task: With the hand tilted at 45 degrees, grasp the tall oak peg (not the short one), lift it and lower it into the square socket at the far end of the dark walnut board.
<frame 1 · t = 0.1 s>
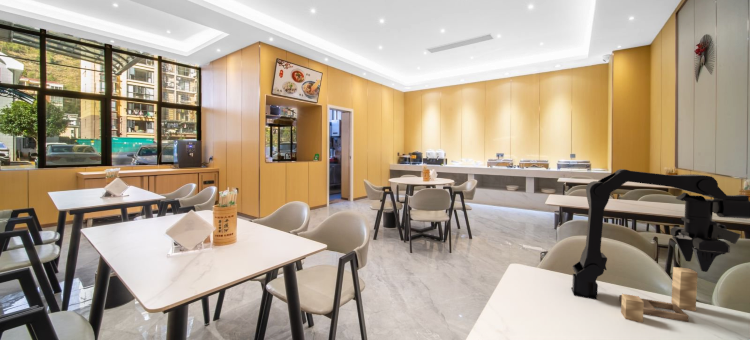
hand: (695, 266, 91), 14 cm above the table, tool pointing down, fingers open, 9 cm apart
long peg: (683, 306, 95), on the table
socket board: (663, 312, 91), on the table
short peg: (631, 317, 89), on the table
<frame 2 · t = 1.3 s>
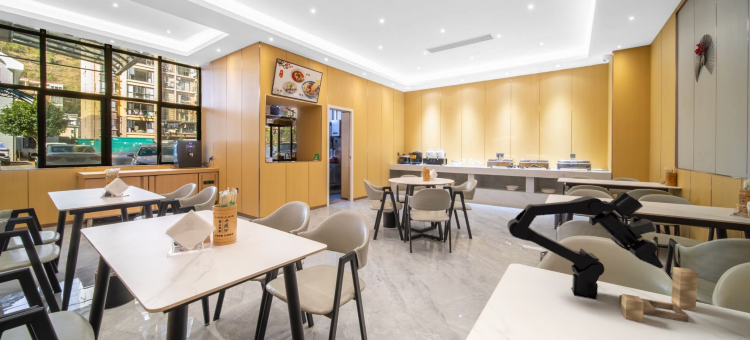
hand: (653, 262, 97), 13 cm above the table, tool tilted 45°, fingers open, 9 cm apart
nothing on the table moved.
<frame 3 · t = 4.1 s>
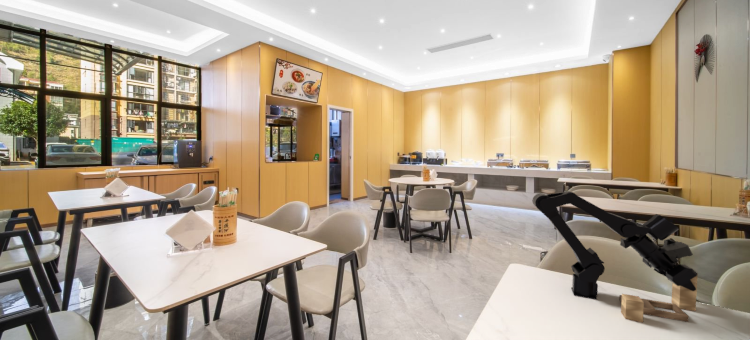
hand: (689, 287, 94), 7 cm above the table, tool tilted 45°, fingers closed on long peg, 4 cm apart
long peg: (683, 306, 95), on the table, touching gripper
everything else where it was.
when the fingers open (7 cm above the table, at t = 7.8 s): long peg stays where it is, resting in socket board.
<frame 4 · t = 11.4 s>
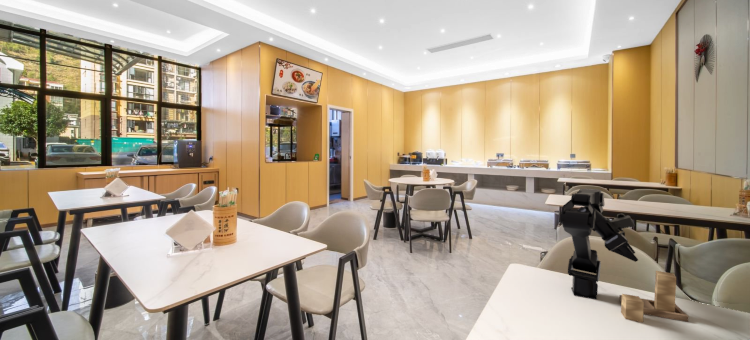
hand: (635, 257, 102), 14 cm above the table, tool tilted 45°, fingers open, 9 cm apart
long peg: (663, 312, 92), resting in socket board
everything else where it was.
at the end: long peg 0.0 cm off-centre on the socket board, point 0.0 cm above the socket board's base; long peg tilted 0°; short peg moved 0.1 cm from its start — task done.
